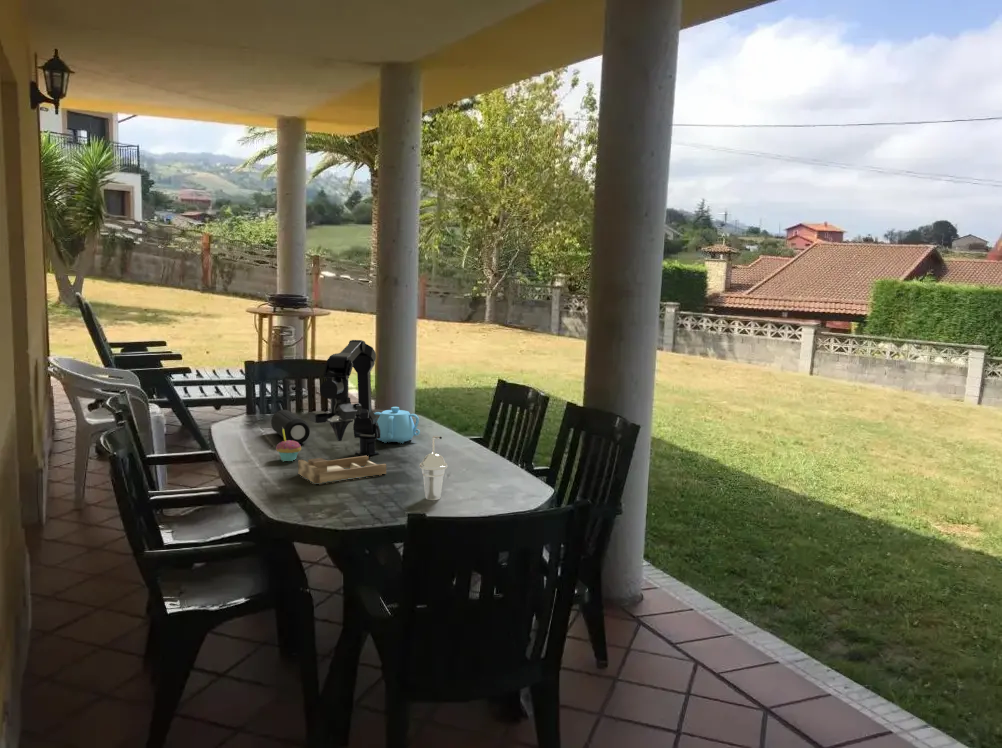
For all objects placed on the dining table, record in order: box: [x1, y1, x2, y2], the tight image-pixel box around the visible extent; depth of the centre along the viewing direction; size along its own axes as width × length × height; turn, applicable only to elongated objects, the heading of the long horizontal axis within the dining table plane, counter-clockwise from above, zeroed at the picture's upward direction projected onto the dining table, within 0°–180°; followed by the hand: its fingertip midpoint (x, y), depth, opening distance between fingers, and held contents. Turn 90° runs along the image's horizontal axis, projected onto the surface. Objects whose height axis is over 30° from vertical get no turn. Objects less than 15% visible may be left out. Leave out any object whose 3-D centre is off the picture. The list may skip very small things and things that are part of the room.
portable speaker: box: [270, 409, 311, 444], centre depth 314 cm, size 26×10×10 cm, turn 30°
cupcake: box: [275, 427, 302, 462], centre depth 280 cm, size 9×8×12 cm
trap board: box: [297, 455, 387, 483], centre depth 264 cm, size 14×25×5 cm, turn 126°
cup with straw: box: [418, 435, 448, 501], centre depth 239 cm, size 8×9×20 cm
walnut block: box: [307, 457, 328, 473], centre depth 258 cm, size 4×4×4 cm
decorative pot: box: [373, 406, 421, 445], centre depth 315 cm, size 16×16×14 cm
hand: (339, 440), depth 262 cm, fingers closed
